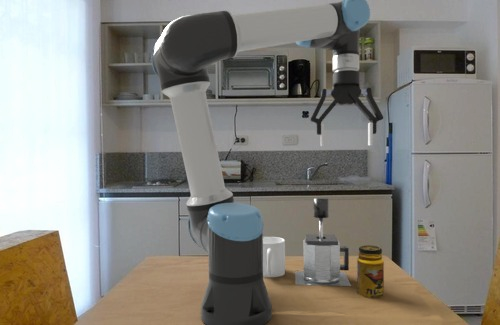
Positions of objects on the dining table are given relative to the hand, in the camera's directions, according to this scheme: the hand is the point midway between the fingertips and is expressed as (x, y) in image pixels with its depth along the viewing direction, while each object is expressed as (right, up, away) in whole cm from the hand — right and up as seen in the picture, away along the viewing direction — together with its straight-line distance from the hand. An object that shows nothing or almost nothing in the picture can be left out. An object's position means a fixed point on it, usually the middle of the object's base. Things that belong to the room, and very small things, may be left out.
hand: (346, 146), depth 106 cm
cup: (-22, -37, -3) cm, 43 cm away
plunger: (-8, -33, -6) cm, 35 cm away
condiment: (+1, -37, -17) cm, 41 cm away
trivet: (-8, -37, -6) cm, 38 cm away
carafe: (-7, -36, -6) cm, 37 cm away
